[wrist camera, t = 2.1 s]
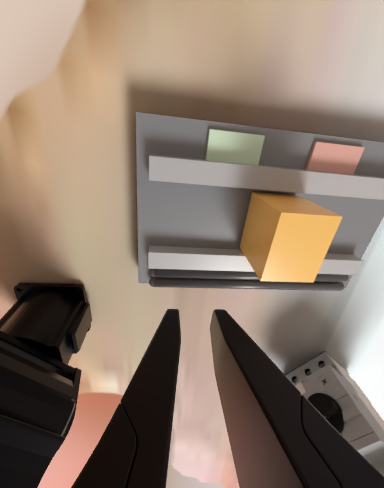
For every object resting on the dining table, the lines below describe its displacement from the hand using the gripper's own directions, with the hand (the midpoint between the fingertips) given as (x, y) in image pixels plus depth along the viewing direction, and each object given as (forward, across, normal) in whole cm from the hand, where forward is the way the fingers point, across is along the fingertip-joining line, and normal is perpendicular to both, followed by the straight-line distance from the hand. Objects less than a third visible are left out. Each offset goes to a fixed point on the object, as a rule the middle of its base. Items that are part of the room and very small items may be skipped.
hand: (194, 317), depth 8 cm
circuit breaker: (+13, -22, +24) cm, 35 cm away
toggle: (+11, -7, 0) cm, 13 cm away
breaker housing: (+13, -8, 0) cm, 15 cm away
